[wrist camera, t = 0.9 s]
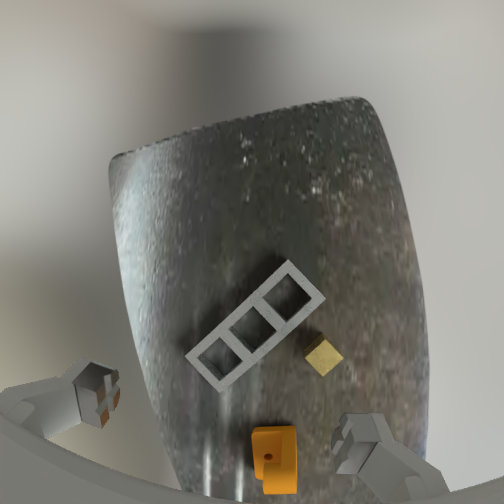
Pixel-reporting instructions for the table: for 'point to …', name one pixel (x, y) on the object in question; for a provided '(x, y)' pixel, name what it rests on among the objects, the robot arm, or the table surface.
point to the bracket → (275, 458)
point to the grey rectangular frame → (238, 342)
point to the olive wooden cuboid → (322, 354)
